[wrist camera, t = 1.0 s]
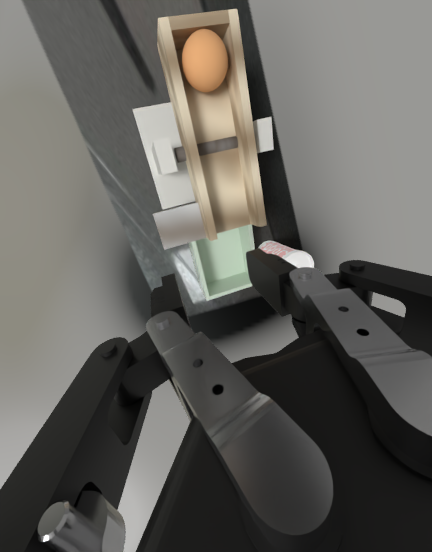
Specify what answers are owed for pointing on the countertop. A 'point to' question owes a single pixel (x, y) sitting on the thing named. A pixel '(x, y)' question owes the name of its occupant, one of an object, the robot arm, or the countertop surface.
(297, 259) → the beverage cup
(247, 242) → the cup
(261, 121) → the pivot stand
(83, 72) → the countertop surface
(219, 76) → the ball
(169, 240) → the tipping chute
